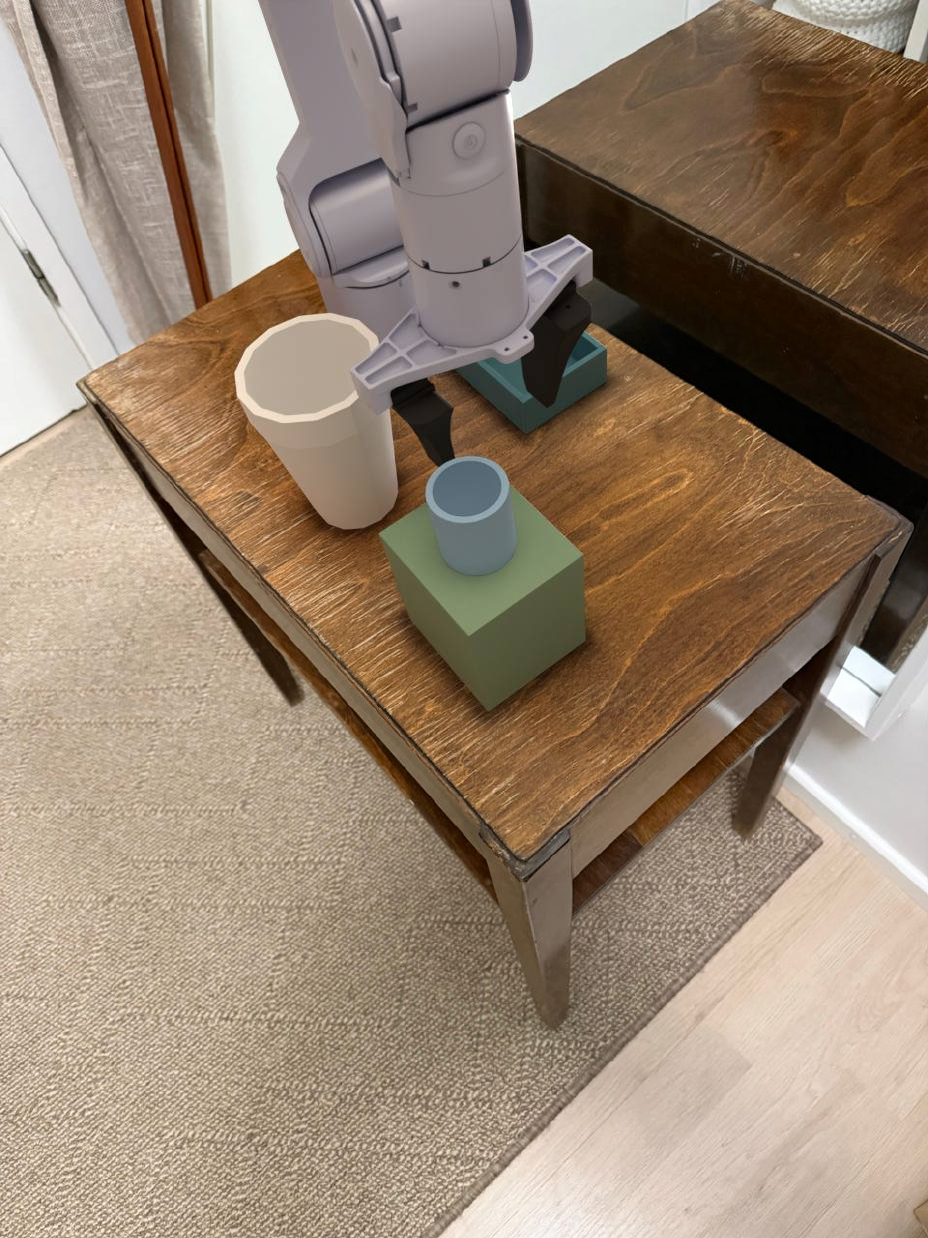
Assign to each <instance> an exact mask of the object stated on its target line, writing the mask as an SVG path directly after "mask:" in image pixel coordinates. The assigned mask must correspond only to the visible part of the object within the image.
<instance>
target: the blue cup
mask: <svg viewBox="0 0 928 1238" xmlns="http://www.w3.org/2000/svg"><path fill="white" fill-rule="evenodd" d="M509 484H510V481H509V478H508V475H507V473H506V472H505V470H504V469H503V468H502V466H500V465H499V464H498V463H497V462H495V461H494V460H491V459H489V458H486V457H483V456H477V455H465V456H460V457H455V459H453V460H450V461H448V462H446V463H444V464H443V465H441V466H440V467H439V468H438V467H437V468H436V469H435V470H434V472H433V473H432V474H431V475H430V477H429V478H428V480H427V483H426V485H425V492H424V493H425V502H427V505H428V509H429V512H430V516H431V520H432V523H433V527H434V531H435V534H436V538H437V542H438V545H439V549H440V553H441V556H442V558H443V560H444V561H445V563H446V564H447V565H448V566H449V567H450V568H452V569H453V570H455V571H457V572H459V573H461V574H465V575H471V576H479V575H486V574H489V573H492V572H494V571H497V570H498V569H500V568H502V567H503V566H504V565H505V564H506V563H507V562H508V561H509V560H510V559H511V557H512V556H513V554H514V552H515V549H516V544H517V538H516V530H515V523H514V516H513V508H512V501H511V494H510V487H509Z"/></svg>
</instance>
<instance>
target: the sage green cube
mask: <svg viewBox="0 0 928 1238" xmlns="http://www.w3.org/2000/svg"><path fill="white" fill-rule="evenodd" d="M509 487H510V494H511V501H512V508H513V516H514V523H515V530H516V538H517V544H516V549H515V552H514V554H513V556H512V557H511V559H510V560H509V561H508V562H507V563H506V564H505V565H504V566H503V567H502V568H500V569H498V570H497V571H494V572H492V573H489V574H486V575H479V576H471V575H465V574H461V573H459V572H457V571H455V570H453V569H452V568H450V567H449V566H448V565H447V564H446V563H445V561H444V560H443V558H442V556H441V553H440V549H439V545H438V542H437V538H436V534H435V531H434V527H433V523H432V520H431V516H430V512H429V509H428V505H427V501H425V502H424V503H422V504H420V505H419V506H417V507H415V509H413V510H411V511H410V512H408V513H407V514H406V515H404V516H402V517H401V518H400V519H398V520H397V521H395V522H393V523H391V524H390V525H389V526H387V527H386V528H385V529H383V530H381V531H380V532H379V533H378V536H379V539H380V542H381V545H382V548H383V551H384V553H385V556H386V559H387V561H388V564H389V567H390V570H391V573H392V574H393V577H394V581H395V584H396V586H397V588H398V591H399V594H400V597H401V599H402V602H403V605H404V607H405V611H406V612H407V613H406V614H407V616H408V618H409V620H410V621H411V623H412V624H413V625H414V626H415V627H416V628H417V630H418V631H419V632H420V633H421V634H422V636H423V637H424V638H425V640H427V642H428V643H429V644H430V645H431V647H432V648H433V649H434V650H435V652H437V653H438V655H439V656H440V657H441V658H442V659H443V661H444V662H445V663H446V664H447V665H448V666H449V667H450V669H451V670H452V671H453V672H454V674H455V675H456V676H457V677H458V678H459V680H460V681H461V682H462V683H463V684H464V685H465V687H466V688H467V689H468V690H469V692H471V694H472V695H473V697H474V698H475V699H476V700H477V701H478V702H479V703H480V704H481V706H482V707H483V708H484V709H485V711H486V712H488V713H489V712H491V711H492V710H494V709H496V707H498V706H499V705H500V704H502V703H503V702H504V701H506V700H507V699H508V698H510V697H511V696H513V695H514V694H515V693H516V692H518V691H520V690H521V689H522V688H523V687H525V686H526V685H527V684H529V683H530V682H531V681H533V680H534V679H536V678H537V677H538V676H540V675H541V674H542V673H544V672H545V671H547V670H548V669H549V668H551V667H553V666H554V665H555V664H556V663H557V662H559V661H560V660H562V659H563V658H565V656H566V657H567V655H569V654H570V653H571V652H572V651H574V650H576V649H577V648H578V647H579V646H581V645H582V644H583V643H585V642H586V640H587V639H586V638H587V637H586V636H587V635H586V601H585V600H586V599H585V598H586V597H585V596H586V595H585V566H584V565H585V562H584V561H585V560H584V554H583V552H581V551H580V549H578V548H577V547H576V545H574V543H572V542H571V541H570V540H569V539H568V538H567V537H566V536H565V535H564V534H562V532H561V531H560V530H558V529H557V528H556V526H554V525H553V524H552V523H551V522H550V520H548V518H547V517H545V516H544V515H543V514H542V513H541V512H540V511H539V510H538V509H537V508H536V507H535V506H534V505H533V504H531V502H530V501H529V500H527V499H526V498H525V497H524V496H523V495H522V494H521V493H520V492H519V491H518V490H517V489H516V488H515V487H514V486H513V485H512V484H511V483H509Z"/></svg>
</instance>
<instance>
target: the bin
mask: <svg viewBox="0 0 928 1238" xmlns="http://www.w3.org/2000/svg"><path fill="white" fill-rule="evenodd" d="M453 371H455V372H456V373H457V374H458V375H459V376H460V377H461V378H463V379H464V380H465V381H466V382H467V383H468V384H469V385H471V387H472V388H474V389H475V390H476V391H477V392H478V393H479V394H480V395H482V396H483V397H484V398H485V399H486V400H487V401H488V402H489V403H490V404H491V405H493V406H494V407H495V408H496V409H497V410H498V411H499V412H500V413H502V414H503V415H504V416H505V418H507V419H508V420H509V422H512V423H513V424H514V426H516V428H518V429H519V430H520V431H521V432H522V433H524V434H525V435H528V434H529V433H532V432H533V431H534V430H536V429H538V427H540V426H541V425H544V424H545V423H546V422H549V420H551V419H552V418H554V417H556V416H558V414H560V413H561V412H563V411H565V410H566V409H568V408H569V407H571V406H573V404H575V403H577V402H578V401H579V400H581V399H583V398H585V397H586V396H587V395H589V394H590V393H592V392H593V391H595V390H596V389H598V388H599V387H601V386H602V385H604V384H606V383H607V382H608V378H607V377H608V347H606V346H605V345H603V344H602V343H601V342H600V341H599V340H598V339H596V338H594V336H592V335H591V334H590V333H588V332H587V331H586V330H585V331H584V333H583V334H582V336H581V337H580V339H579V340H578V342H577V344H576V346H575V347H574V349H573V351H572V353H571V355H570V358H569V360H568V362H567V365H566V368H565V371H564V374H563V377H562V380H561V383H560V387H559V390H558V394H557V397H556V401H555V403H554V404H553V405H551V406H550V407H548V408H546V407H545V406H544V405H543V404H541V403H540V402H539V401H538V400H537V399H536V398H534V397H533V396H532V395H531V394H530V393H529V392H527V390H526V387H525V383H524V380H523V375H522V366H521V357H520V358H519V359H517V360H516V361H514V362H512V363H509V364H503V363H501V362H499V361H498V360H497V359H496V358H493V357H491V358H487V359H484V360H481V361H478V362H474V363H471V364H468V365H465V366H462V367H458V368H455V369H453Z"/></svg>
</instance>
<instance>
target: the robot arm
mask: <svg viewBox="0 0 928 1238" xmlns="http://www.w3.org/2000/svg"><path fill="white" fill-rule="evenodd" d="M257 1H258V5H259V7H260V10H261V14H262V16H263V20H264V23H265V25H266V28H267V32H268V35H269V37H270V40H271V43H272V45H273V49H274V52H275V55H276V58H277V60H278V63H279V67H280V69H281V70H280V71H281V72H282V75H283V78H284V82H285V84H286V88H287V90H288V93H289V96H290V100H291V102H292V105H293V108H294V111H295V114H296V116H297V120H298V125H297V128H296V130H295V132H294V134H293V135H292V137H291V138H290V140H289V143H288V144H287V146H286V147H285V149H284V151H283V153H281V154H282V155H281V156H280V158H279V160H278V162H277V165H276V167H275V170H276V172H277V173H276V176H275V179H276V182H277V184H278V188H279V191H280V194H281V196H282V199H283V201H282V202H283V208H284V211H285V214H286V217H287V221H288V223H289V226H290V228H291V231H292V233H293V236H294V239H295V241H296V244H297V246H298V249H299V250H300V253H301V255H302V257H303V259H304V261H305V263H306V265H307V268H308V269H309V271H310V272H311V274H313V275H314V276H315V279H316V282H317V285H318V288H319V291H320V295H321V298H322V301H323V304H324V306H325V310H326V313H333V314H337V315H341V316H345V317H349V318H353V319H357V320H359V321H360V322H361V323H363V324H364V325H365V326H366V327H367V328H368V329H369V330H371V331H372V332H373V333H374V334H375V335H376V336H377V338H378V342H379V345H378V346H377V347H376V348H375V349H374V350H373V351H372V352H371V353H370V354H369V355H368V356H367V357H366V358H364V359H363V360H362V361H361V362H359V363H358V364H356V365H355V366H353V367H352V368H350V369H349V371H350V374H351V377H352V380H353V383H354V386H355V389H356V392H357V395H358V397H359V398H360V399H361V400H362V401H363V402H364V403H365V404H366V405H367V406H368V407H369V408H370V409H371V410H372V411H373V412H374V413H375V414H376V415H379V414H381V413H382V412H384V411H386V410H387V409H392V410H393V411H394V412H396V413H397V415H398V416H399V417H401V419H403V421H405V422H406V424H407V425H408V426H409V427H410V428H411V430H412V432H413V433H414V434H415V436H416V437H417V439H418V440H419V442H420V444H421V446H422V448H423V450H424V451H425V454H426V456H427V458H428V459H429V460H430V461H431V462H432V463H433V464H434V465H435V466H436V467H437V469H438V468H439V467H440V466H441V465H443V464H444V463H446V462H448V461H450V460H453V459H456V455H455V450H454V446H453V443H452V433H451V429H452V428H451V427H452V418H453V413H454V410H455V408H454V406H453V405H451V404H450V403H449V402H448V401H447V400H446V399H445V398H444V397H443V396H442V395H440V393H438V392H437V390H436V385H435V383H434V382H431V381H430V380H429V378H430V377H433V376H437V375H439V374H442V373H445V372H446V373H447V372H448V371H449V372H450V371H452V370H454V369H455V368H458V367H462V366H465V365H468V364H471V363H474V362H478V361H481V360H484V359H487V358H491V357H493V358H496V359H497V360H498V361H499V362H501V363H503V364H509V363H512V362H514V361H516V360H517V359H519V358H520V357H521V366H522V375H523V380H524V383H525V387H526V390H527V392H529V393H530V394H531V395H532V396H533V397H534V398H536V399H537V400H538V401H539V402H540V403H541V404H543V405H544V406H545V407H546V408H548V407H550V406H551V405H553V404H554V403H555V401H556V397H557V394H558V390H559V387H560V383H561V380H562V377H563V374H564V371H565V368H566V365H567V362H568V360H569V358H570V355H571V353H572V351H573V349H574V347H575V346H576V344H577V342H578V340H579V339H580V337H581V336H582V334H583V333H584V331H585V332H586V330H587V329H588V328H589V326H590V325H591V324H592V323H593V305H592V303H591V301H589V300H588V299H587V298H585V297H584V296H583V295H581V294H580V293H579V292H578V291H577V288H582V287H584V286H585V285H587V284H588V283H590V282H591V281H593V279H594V277H593V275H594V273H593V272H594V271H593V270H594V269H593V268H594V267H593V265H594V264H593V263H594V262H593V261H594V260H593V249H591V248H590V247H588V246H587V245H586V244H584V243H582V241H580V240H578V239H577V238H576V237H574V236H573V235H571V234H567V235H565V236H563V237H562V238H560V239H558V240H555V241H554V242H551V243H549V244H546V245H543V246H540V247H537V248H534V249H531V250H528V251H525V247H524V246H525V245H524V237H523V236H524V235H523V223H522V222H523V221H522V210H521V199H520V185H519V175H518V162H517V151H516V150H517V149H516V140H515V139H516V138H515V129H514V128H515V127H514V117H513V106H512V93H511V90H510V87H511V85H512V83H513V82H514V83H515V82H516V83H520V82H523V81H524V80H525V79H526V78H527V76H529V73H530V70H531V67H532V61H533V55H534V54H533V53H534V29H533V20H532V18H533V17H532V12H531V6H530V1H529V0H257Z"/></svg>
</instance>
